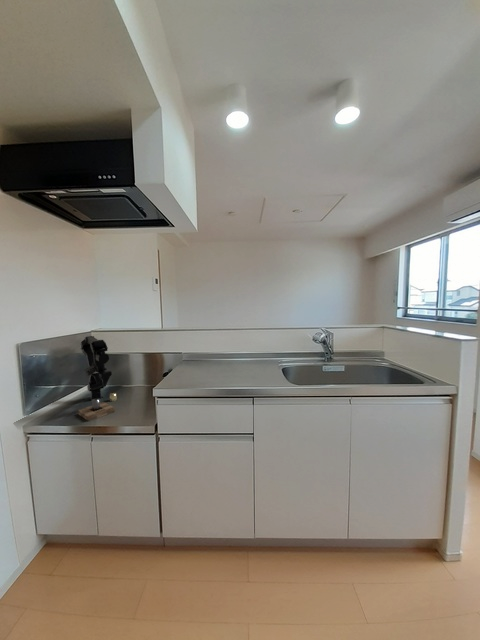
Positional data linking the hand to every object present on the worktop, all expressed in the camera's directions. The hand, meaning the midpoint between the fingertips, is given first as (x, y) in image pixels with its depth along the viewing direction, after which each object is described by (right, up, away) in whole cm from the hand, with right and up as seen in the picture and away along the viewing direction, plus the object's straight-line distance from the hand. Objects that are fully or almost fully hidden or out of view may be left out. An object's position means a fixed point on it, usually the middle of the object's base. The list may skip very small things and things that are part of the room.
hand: (101, 385), depth 161 cm
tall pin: (+3, -13, -12) cm, 18 cm away
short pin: (+4, -11, +7) cm, 14 cm away
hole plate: (+4, -13, -12) cm, 18 cm away
